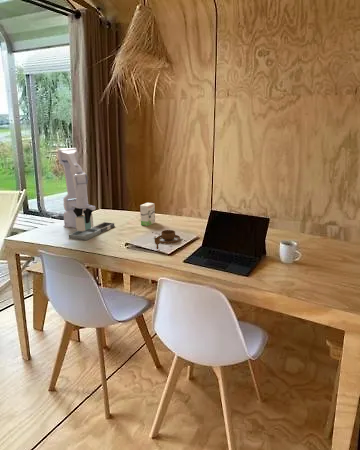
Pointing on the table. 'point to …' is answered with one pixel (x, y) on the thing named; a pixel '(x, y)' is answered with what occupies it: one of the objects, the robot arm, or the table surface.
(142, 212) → the ink box
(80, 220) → the beige teal carton
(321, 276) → the table surface
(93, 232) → the tray
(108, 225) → the frame
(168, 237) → the place setting
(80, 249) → the table surface
